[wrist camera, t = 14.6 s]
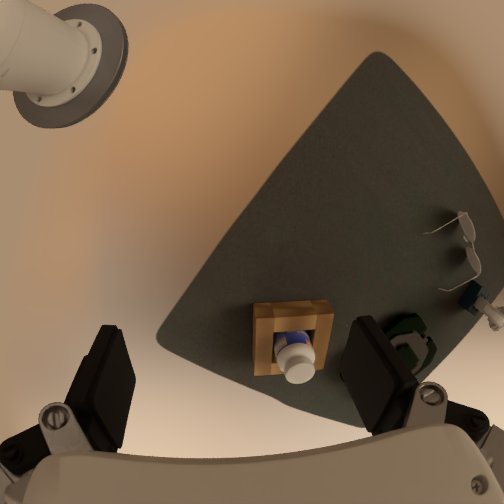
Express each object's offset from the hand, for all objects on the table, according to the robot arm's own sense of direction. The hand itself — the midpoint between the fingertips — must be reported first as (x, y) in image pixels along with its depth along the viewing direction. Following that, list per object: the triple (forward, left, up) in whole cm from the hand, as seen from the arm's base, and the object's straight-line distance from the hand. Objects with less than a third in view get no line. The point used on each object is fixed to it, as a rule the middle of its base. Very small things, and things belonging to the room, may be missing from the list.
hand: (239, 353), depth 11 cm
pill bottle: (+9, -20, -28) cm, 35 cm away
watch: (+48, -17, -28) cm, 58 cm away
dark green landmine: (+30, -29, -28) cm, 50 cm away
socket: (+9, -20, -28) cm, 35 cm away
